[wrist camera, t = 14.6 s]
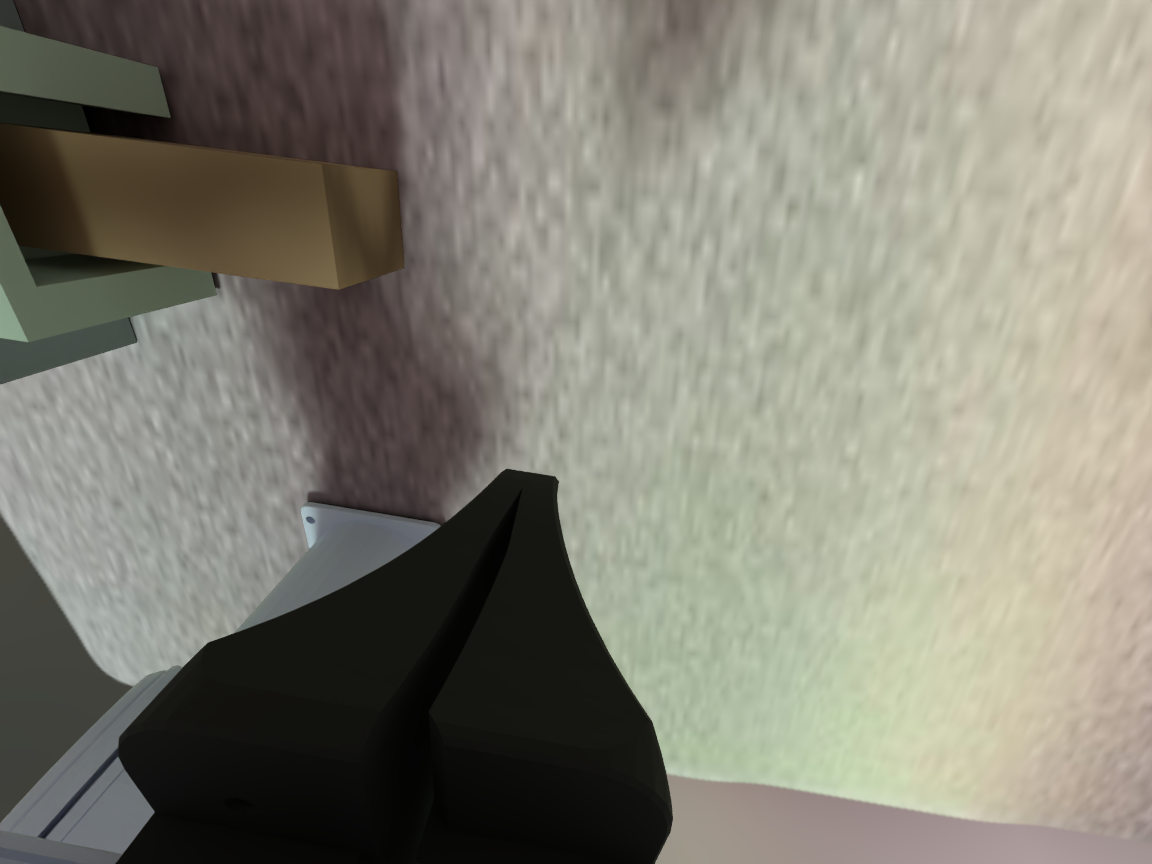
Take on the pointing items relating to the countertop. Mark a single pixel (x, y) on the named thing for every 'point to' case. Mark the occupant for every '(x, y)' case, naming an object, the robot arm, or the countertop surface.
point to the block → (61, 279)
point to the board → (26, 358)
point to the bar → (199, 207)
